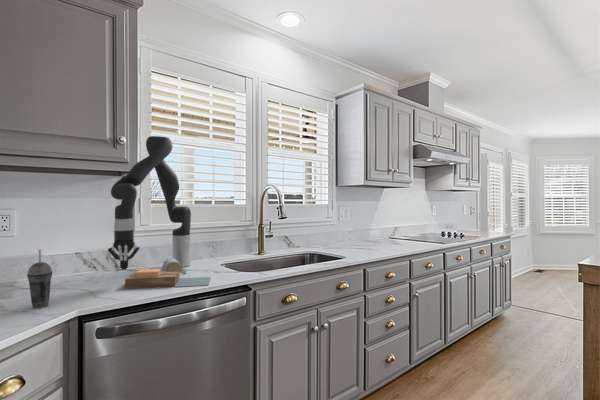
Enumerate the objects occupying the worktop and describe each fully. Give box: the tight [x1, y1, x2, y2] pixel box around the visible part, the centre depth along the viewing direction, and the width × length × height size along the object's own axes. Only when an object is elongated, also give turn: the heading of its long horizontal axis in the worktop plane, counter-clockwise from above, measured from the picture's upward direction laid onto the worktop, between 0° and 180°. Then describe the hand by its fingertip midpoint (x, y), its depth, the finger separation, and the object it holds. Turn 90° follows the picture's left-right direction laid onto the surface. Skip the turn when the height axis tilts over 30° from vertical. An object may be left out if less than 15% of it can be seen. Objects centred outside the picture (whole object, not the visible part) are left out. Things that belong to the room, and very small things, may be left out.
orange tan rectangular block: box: [135, 268, 162, 277], centre depth 154 cm, size 6×9×2 cm, turn 101°
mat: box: [173, 276, 211, 288], centre depth 157 cm, size 16×14×1 cm
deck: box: [124, 271, 180, 290], centre depth 154 cm, size 12×20×4 cm, turn 101°
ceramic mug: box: [162, 257, 188, 274], centre depth 174 cm, size 11×8×8 cm
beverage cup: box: [26, 249, 53, 309], centre depth 123 cm, size 7×7×20 cm
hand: (124, 269), depth 152 cm, fingers closed
